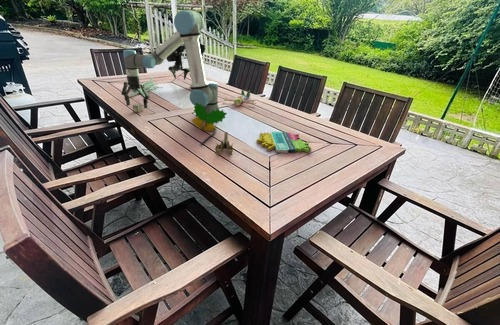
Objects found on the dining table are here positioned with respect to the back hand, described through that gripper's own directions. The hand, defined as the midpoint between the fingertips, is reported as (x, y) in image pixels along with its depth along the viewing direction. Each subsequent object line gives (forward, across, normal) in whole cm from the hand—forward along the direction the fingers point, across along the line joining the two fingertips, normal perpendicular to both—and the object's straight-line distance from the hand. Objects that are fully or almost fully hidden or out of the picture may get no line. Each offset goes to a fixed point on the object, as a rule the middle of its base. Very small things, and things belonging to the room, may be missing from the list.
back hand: (179, 79), depth 238 cm
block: (+10, +2, -68) cm, 69 cm away
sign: (+10, +106, -84) cm, 135 cm away
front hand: (+6, +2, -68) cm, 69 cm away
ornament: (+10, +60, -79) cm, 99 cm away
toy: (+10, +62, -13) cm, 64 cm away
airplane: (+10, -24, -21) cm, 33 cm away
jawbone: (+10, +78, -106) cm, 132 cm away
